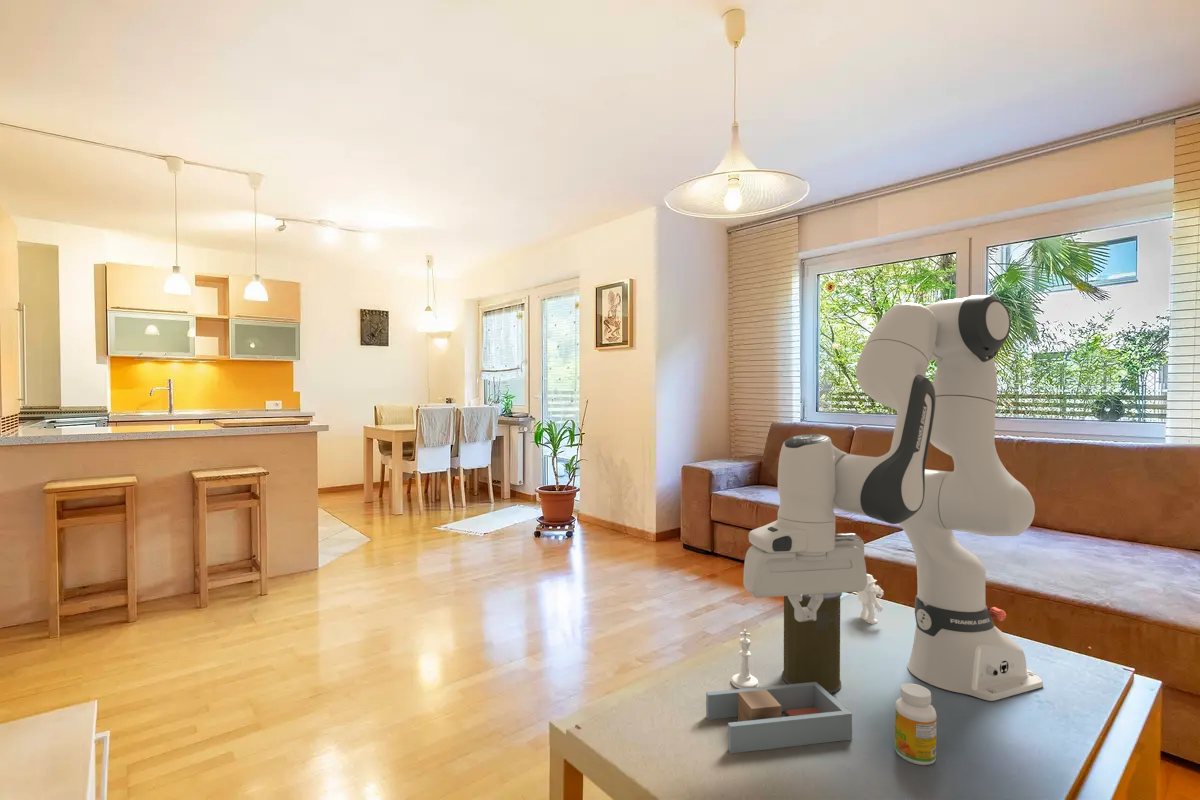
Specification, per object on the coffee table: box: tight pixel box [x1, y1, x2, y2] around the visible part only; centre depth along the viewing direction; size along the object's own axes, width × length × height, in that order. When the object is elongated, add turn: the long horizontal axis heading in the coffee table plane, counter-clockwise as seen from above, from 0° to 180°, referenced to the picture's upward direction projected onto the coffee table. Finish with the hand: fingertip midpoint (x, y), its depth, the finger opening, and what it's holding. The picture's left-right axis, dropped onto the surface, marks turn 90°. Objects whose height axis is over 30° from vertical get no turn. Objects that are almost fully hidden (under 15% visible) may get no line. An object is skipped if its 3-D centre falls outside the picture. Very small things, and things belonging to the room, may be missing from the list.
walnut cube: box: [737, 690, 782, 722], centre depth 90 cm, size 5×5×5 cm
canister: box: [781, 593, 843, 695], centre depth 106 cm, size 11×10×20 cm
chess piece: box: [730, 628, 760, 689], centre depth 105 cm, size 5×5×10 cm
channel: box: [705, 682, 853, 754], centre depth 91 cm, size 20×10×4 cm, turn 100°
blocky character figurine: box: [857, 573, 885, 625], centre depth 135 cm, size 9×4×12 cm, turn 10°
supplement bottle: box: [894, 682, 938, 766], centre depth 84 cm, size 5×5×10 cm
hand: (805, 620), depth 92 cm, fingers closed
